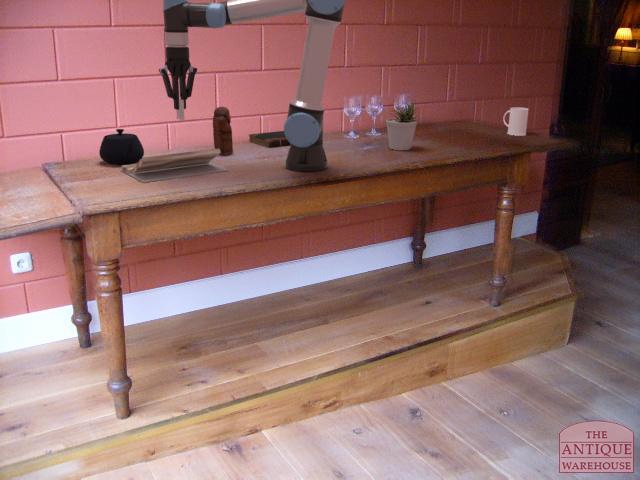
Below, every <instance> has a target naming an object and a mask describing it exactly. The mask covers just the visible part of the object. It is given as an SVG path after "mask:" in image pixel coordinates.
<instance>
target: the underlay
mask: <svg viewBox="0 0 640 480" xmlns="http://www.w3.org/2000/svg"><path fill="white" fill-rule="evenodd" d="M120 172H122V173H123V174H125V175H127V176H130V177H131V178H133V179H135V180H136V181H139V182H140V183H142V184H145V183H154V182H161V181H167V180H173V179H182V178H189V177H195V176H204V175H210V174H216V173H223V172H229V169H228V168H225V167H222V166H219V165H217V164H214V163H212V162H209V163H207V164H199V165H192V166H184V167H177V168H169V169H162V170H154V171H146V172H139V173H131V174H129V173H127V172H125V171H123V170H122V169H120Z"/></svg>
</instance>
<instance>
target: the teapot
mask: <svg viewBox="0 0 640 480" xmlns="http://www.w3.org/2000/svg"><path fill="white" fill-rule="evenodd" d="M115 131H116V132H117V133H112V134H106V135H104V136H103V138H102V141H101V144H100V146H99V150H98V151H99V152H98V153H99V156H100V159H101V160H102V161H104V162H105V163H106V164H107V165H111V166H124V165H132V164H138V162H139V161H140V160H141V158H143V157H145V149H144V147H143V144H142V143H141V141H140V139H139V137H138V136H137V134H134V133H123V132H124V131H125V129H124V128H116V129H115Z"/></svg>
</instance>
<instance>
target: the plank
mask: <svg viewBox="0 0 640 480" xmlns="http://www.w3.org/2000/svg"><path fill="white" fill-rule="evenodd" d="M220 153H221V152H220V149H215V148H213V149H211V148H210V149H202V150H196V151H195V150H194V151H187V152H179V153H178V152H176V153H170V154H161V155H153V156H146V157H145V156H143V157H142V158H141V159H140V160H139V162H137V163H136V164H137V165H136V166H135V167H134V168H133V172H134V173H137V172H145V171H152V170H160V169H167V168H175V167H183V166H190V165H198V164H205V163H211V162H212V161H213V160H214V159H215V158H216V157H218V155H220Z"/></svg>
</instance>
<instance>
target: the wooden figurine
mask: <svg viewBox="0 0 640 480" xmlns="http://www.w3.org/2000/svg"><path fill="white" fill-rule="evenodd" d="M231 120H232V119H231V115H230V110H229V108H228V107H226V106H218V107H216V108H215V109H214V111H213V117H212V128H213V129H212V131H213V133H212V135H213V145H214V146H213V147H214V149H220V152H221V153H220V154H219V155H220V156H222V157H223V156H224V157H226V156H230V155H232V154H233V152H234V149H233V148H234V147H233V130H232V126H231Z"/></svg>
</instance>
